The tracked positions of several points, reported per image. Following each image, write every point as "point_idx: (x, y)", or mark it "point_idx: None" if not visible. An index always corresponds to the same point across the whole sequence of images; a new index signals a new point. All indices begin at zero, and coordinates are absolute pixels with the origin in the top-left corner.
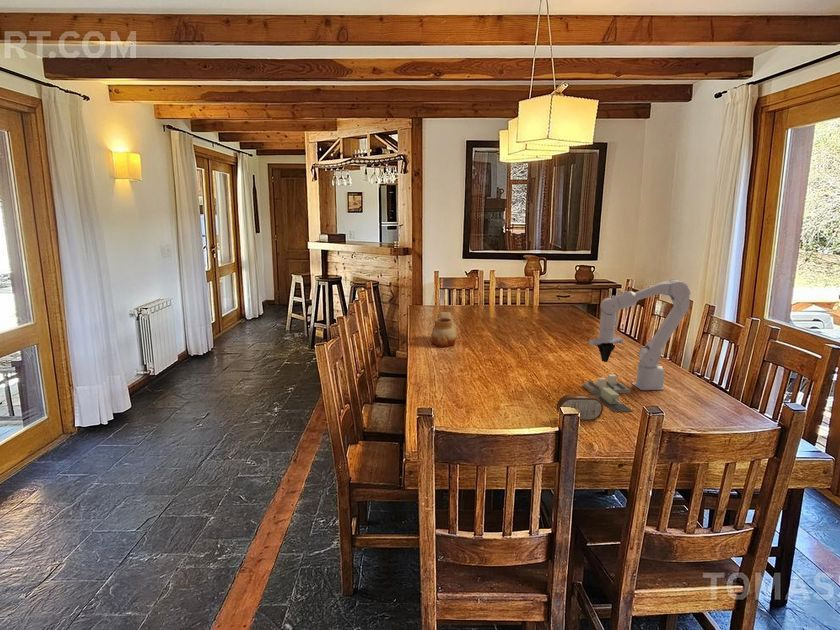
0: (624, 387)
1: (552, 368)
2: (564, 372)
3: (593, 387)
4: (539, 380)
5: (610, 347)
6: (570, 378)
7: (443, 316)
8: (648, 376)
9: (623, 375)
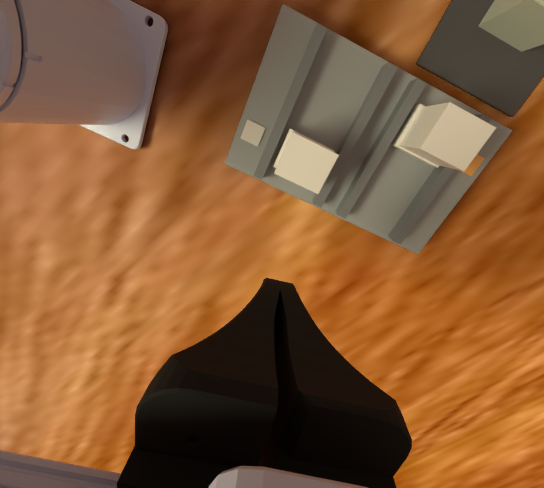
0: (319, 25)
1: None
2: None
3: None
4: (497, 378)
5: (276, 379)
6: (355, 341)
7: None
8: None
9: (87, 265)
